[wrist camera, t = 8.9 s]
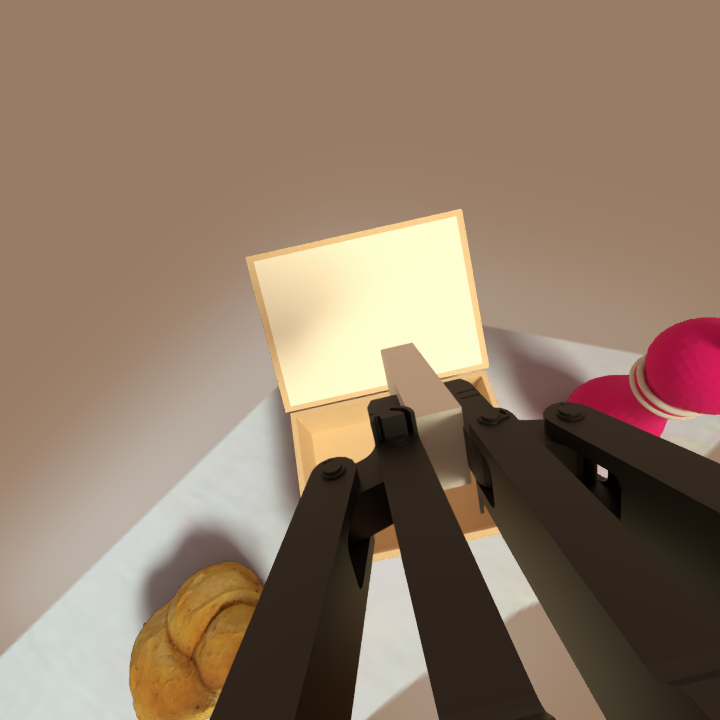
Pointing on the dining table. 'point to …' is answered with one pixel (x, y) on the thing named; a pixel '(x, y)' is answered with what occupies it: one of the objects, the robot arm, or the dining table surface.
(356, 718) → the dining table surface
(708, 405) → the pepper mill
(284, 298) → the lid
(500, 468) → the robot arm
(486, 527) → the mailer box
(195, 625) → the bread roll
